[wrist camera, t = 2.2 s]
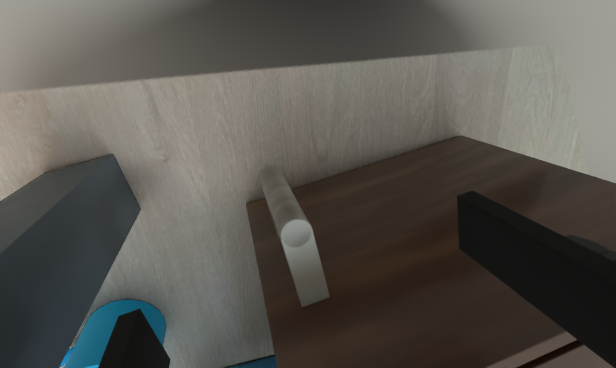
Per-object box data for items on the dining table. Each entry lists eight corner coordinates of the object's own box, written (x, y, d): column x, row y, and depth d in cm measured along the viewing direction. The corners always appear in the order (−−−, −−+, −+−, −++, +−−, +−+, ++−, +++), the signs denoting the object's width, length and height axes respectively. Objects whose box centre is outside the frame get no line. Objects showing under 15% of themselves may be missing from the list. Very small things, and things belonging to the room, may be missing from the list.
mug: (152, 290, 35) (134, 351, 28) (175, 343, 38) (165, 410, 31) (31, 324, 33) (-23, 400, 26) (66, 377, 36) (28, 458, 29)
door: (228, 152, 32) (249, 350, 10) (459, 84, 36) (834, 123, 14) (248, 211, 35) (299, 467, 13) (461, 142, 39) (776, 250, 17)
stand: (43, 172, 28) (-1322, 1054, 3) (113, 153, 29) (-532, 727, 4) (77, 228, 31) (-550, 984, 6) (141, 209, 32) (-157, 788, 7)
